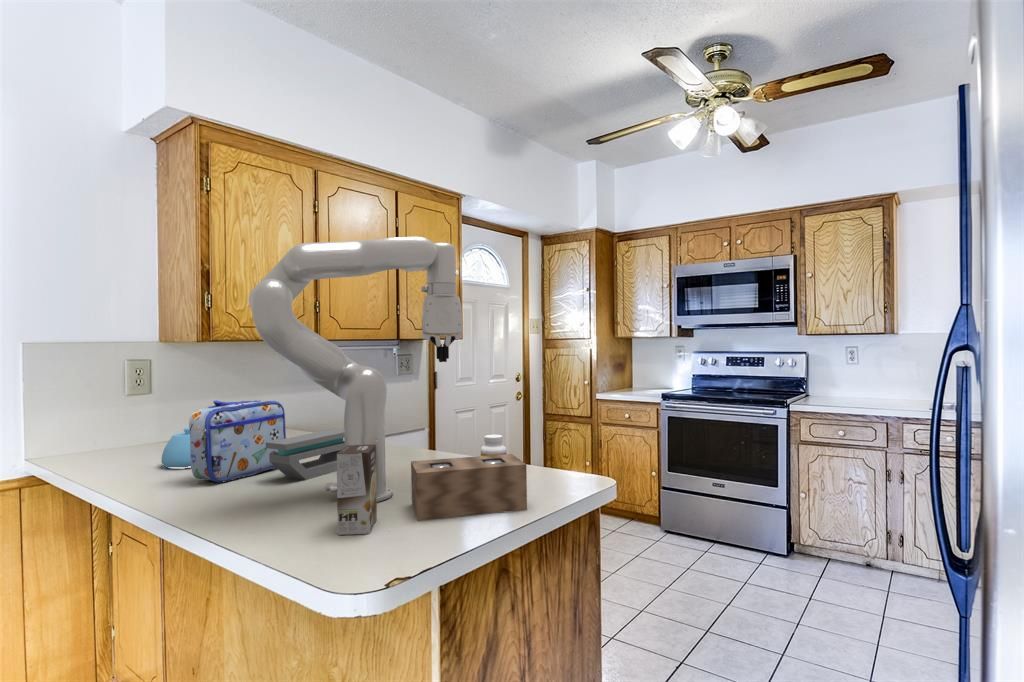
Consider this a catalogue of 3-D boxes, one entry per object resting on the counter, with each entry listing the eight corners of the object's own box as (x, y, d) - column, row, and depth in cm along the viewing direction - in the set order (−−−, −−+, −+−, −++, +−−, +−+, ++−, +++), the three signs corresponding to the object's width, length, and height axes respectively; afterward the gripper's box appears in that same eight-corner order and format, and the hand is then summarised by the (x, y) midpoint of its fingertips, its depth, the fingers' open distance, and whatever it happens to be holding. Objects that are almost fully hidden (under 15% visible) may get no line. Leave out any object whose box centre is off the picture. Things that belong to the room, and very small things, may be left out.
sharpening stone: (335, 463, 174) (334, 428, 174) (354, 466, 170) (353, 430, 170) (266, 482, 152) (265, 442, 152) (286, 485, 148) (285, 444, 148)
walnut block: (417, 520, 117) (416, 473, 117) (411, 504, 129) (411, 461, 129) (527, 509, 124) (526, 464, 124) (512, 495, 136) (511, 453, 136)
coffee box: (370, 534, 110) (369, 452, 110) (336, 535, 109) (335, 453, 109) (377, 519, 119) (376, 443, 119) (346, 520, 118) (345, 444, 118)
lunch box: (207, 489, 146) (206, 404, 146) (181, 485, 150) (180, 403, 150) (291, 467, 170) (290, 394, 170) (266, 464, 175) (265, 393, 175)
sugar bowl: (181, 460, 183) (180, 424, 183) (226, 459, 183) (225, 424, 183) (150, 470, 168) (149, 432, 168) (199, 470, 168) (198, 431, 168)
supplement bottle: (503, 489, 141) (503, 438, 141) (478, 488, 142) (477, 438, 142) (509, 483, 147) (508, 434, 147) (484, 482, 149) (484, 433, 149)
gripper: (414, 289, 140) (415, 363, 140) (472, 290, 144) (473, 361, 144) (411, 292, 148) (412, 362, 148) (467, 292, 152) (468, 360, 152)
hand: (442, 361), depth 146 cm, fingers closed
